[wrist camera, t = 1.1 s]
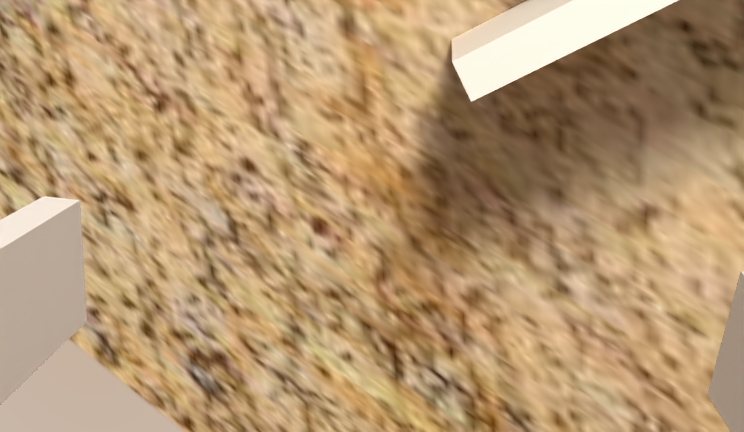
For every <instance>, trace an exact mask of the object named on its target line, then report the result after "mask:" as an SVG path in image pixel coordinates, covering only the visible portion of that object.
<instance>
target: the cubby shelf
mask: <svg viewBox="0 0 744 432" xmlns="http://www.w3.org/2000/svg"><path fill="white" fill-rule="evenodd" d="M676 1H678V0H527V1H525V2H523V3H521V4H519V5H517V6H515V7H513V8H511V9H509V10H507V11H505V12H503V13H501V14H499V15H498V16H496V17H494V18H492V19H490V20H488V21H486V22H484V23H482V24H480V25H478V26H476V27H474V28H472V29H470V30H468V31H466V32H465V33H463V34H461V35H459V36H457V37H455V38H453V39H452V63H453V65H454V67H455V69H456V71H457V73H458V75H459V77H460V79H461V82H462V84H463V86H464V88H465V90H466V92H467V94H468V96H469V98H470V100H471V102H472V101H474V100H476V99H478V98H480V97H482V96H484V95H486V94H488V93H490V92H492V91H494V90H496V89H498V88H500V87H503V86H505V85H507V84H509V83H511V82H513V81H515V80H517V79H519V78H521V77H523V76H525V75H527V74H529V73H531V72H533V71H535V70H537V69H539V68H541V67H543V66H545V65H547V64H549V63H552V62H554V61H556V60H558V59H560V58H562V57H564V56H566V55H568V54H570V53H572V52H574V51H576V50H578V49H580V48H582V47H584V46H586V45H588V44H590V43H592V42H594V41H596V40H599V39H601V38H603V37H605V36H607V35H609V34H611V33H613V32H615V31H617V30H619V29H621V28H623V27H625V26H627V25H629V24H631V23H633V22H635V21H637V20H639V19H641V18H643V17H645V16H648V15H650V14H652V13H654V12H656V11H658V10H660V9H662V8H664V7H666V6H668V5H670V4H672V3H674V2H676Z"/></svg>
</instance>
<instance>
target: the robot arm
mask: <svg viewBox="0 0 744 432" xmlns="http://www.w3.org/2000/svg"><path fill="white" fill-rule="evenodd" d="M86 322H87V316H86V298H85V280H84V262H83V244H82V226H81V208H80V200H73V199H64V198H54V197H45V196H44V197H42V198H40V199H38V200H36V201H34V202H33V203H31V204H29V205H27V206H25V207H23V208H22V209H20V210H18V211H16V212H14V213H12V214H11V215H9V216H7V217H5V218H3V219H1V220H0V405H1V404H2V403H3V402H4V401H5V400H6V399H7V398H8V397H9V396H10V395H11V394H12V393H13V392H14V391H15V390H16V389H17V388H18V387H19V386H20V385H21V384H22V383H23V382H25V381H26V380H27V379H28V378H29V377H30V376H31V375H32V374H33V373H34V372H35V371H36V370H37V369H38V368H39V367H40V366H41V365H42V364H43V363H44V362H45V361H46V360H47V359H48V358H49V357H50V356H51V355H53V354H54V353H55V352H56V351H57V350H58V349H59V348H60V347H61V346H62V345H63V344H64V343H65V342H66V341H67V340H68V339H69V338H70V337H71V336H72V335H73V334H74V333H75V332H76V331H77V330H78V329H80V328H81V327H82V326H83V325H84V324H85V323H86ZM707 395H708V397H709V399H710V400H711V402H712V403H713V405H714V406H715V408H716V409H717V411H718V413H719V414H720V416H721V417H722V419H723V420H724V422H725V424H726V425H727V427H728V428H729V430H730V431H731V432H744V272H740V276H739V280H738V283H737V287H736V291H735V294H734V298H733V302H732V306H731V309H730V313H729V317H728V320H727V324H726V328H725V331H724V335H723V339H722V343H721V346H720V350H719V354H718V357H717V361H716V365H715V369H714V372H713V376H712V380H711V383H710V387H709V391H708V394H707Z"/></svg>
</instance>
